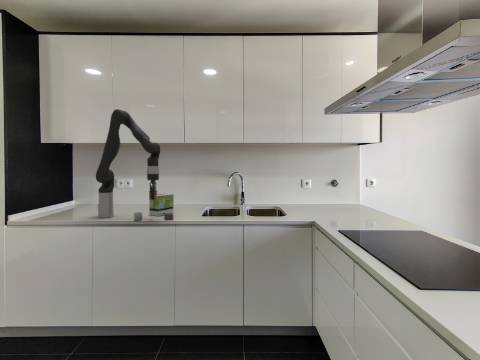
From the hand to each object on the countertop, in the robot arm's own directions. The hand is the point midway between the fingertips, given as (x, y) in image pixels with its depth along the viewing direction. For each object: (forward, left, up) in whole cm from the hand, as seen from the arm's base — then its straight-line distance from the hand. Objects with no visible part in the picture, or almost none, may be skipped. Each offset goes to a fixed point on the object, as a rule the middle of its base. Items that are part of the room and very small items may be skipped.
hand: (153, 198), depth 200 cm
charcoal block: (+10, +1, -15) cm, 18 cm away
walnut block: (0, 0, -1) cm, 1 cm away
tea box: (+3, +20, -15) cm, 25 cm away
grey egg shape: (-10, 0, -15) cm, 18 cm away
